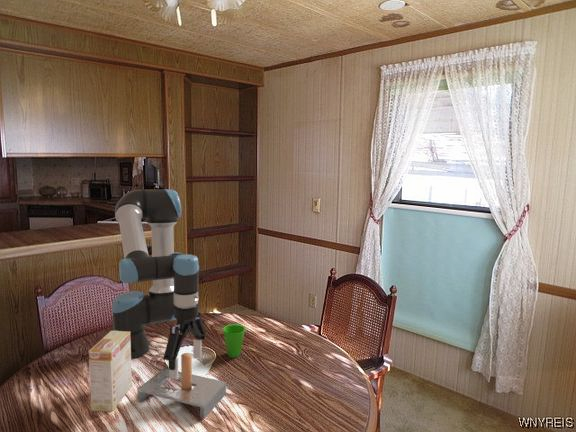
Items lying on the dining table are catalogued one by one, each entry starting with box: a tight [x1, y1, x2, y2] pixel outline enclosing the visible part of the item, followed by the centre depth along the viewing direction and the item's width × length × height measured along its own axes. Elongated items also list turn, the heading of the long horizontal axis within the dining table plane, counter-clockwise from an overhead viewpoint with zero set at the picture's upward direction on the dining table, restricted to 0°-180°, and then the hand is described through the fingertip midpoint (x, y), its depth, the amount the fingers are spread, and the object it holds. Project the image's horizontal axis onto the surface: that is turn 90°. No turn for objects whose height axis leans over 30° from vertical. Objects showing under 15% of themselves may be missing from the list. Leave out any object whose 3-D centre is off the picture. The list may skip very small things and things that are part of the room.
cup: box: [222, 323, 247, 359], centre depth 161 cm, size 9×9×11 cm
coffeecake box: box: [88, 330, 133, 413], centre depth 130 cm, size 15×7×20 cm, turn 178°
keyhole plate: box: [136, 367, 227, 420], centre depth 131 cm, size 24×14×4 cm, turn 71°
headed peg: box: [179, 352, 193, 405], centre depth 130 cm, size 5×5×15 cm
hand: (186, 367), depth 130 cm, fingers open, 13 cm apart
